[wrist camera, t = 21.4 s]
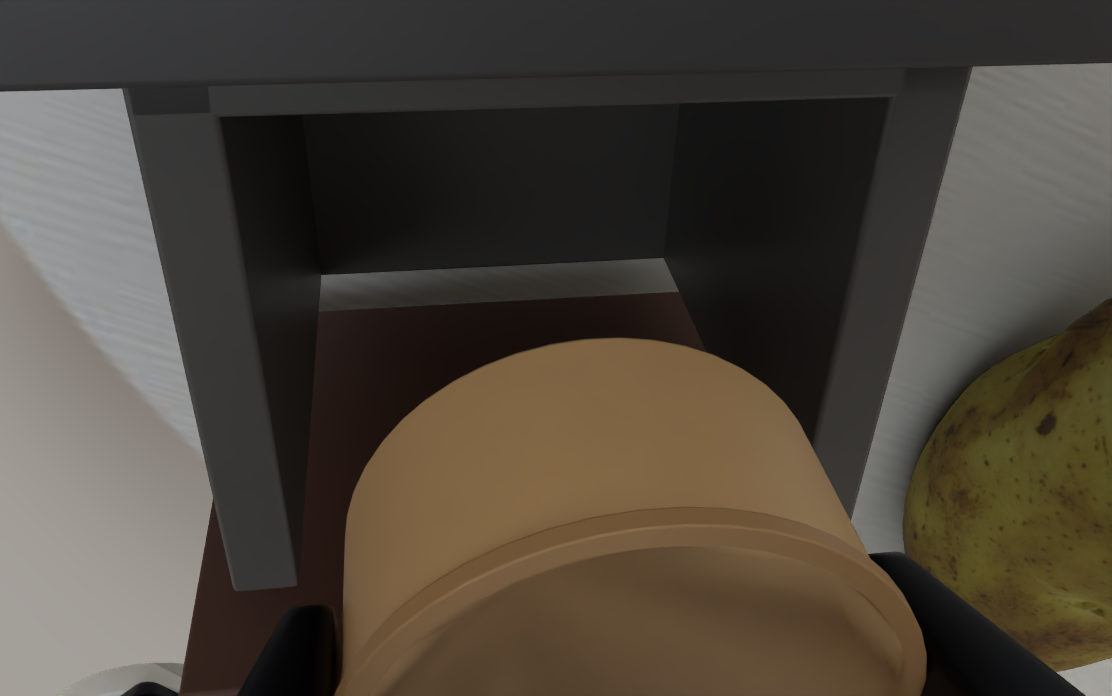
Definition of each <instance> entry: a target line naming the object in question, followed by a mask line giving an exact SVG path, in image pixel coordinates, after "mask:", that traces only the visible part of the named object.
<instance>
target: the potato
mask: <svg viewBox="0 0 1112 696" xmlns="http://www.w3.org/2000/svg"><path fill="white" fill-rule="evenodd" d="M903 540H904V548H905V555H907V556H909V557H910V558H912V559H913V560H914V561H915V562H917V563H918V564H919V565H920V566H922V567H923V568H924V569H925V570H927V571H928V572H929V573H931V574H932V575H933V576H934V577H936V578H937V579H938V580H939V581H941V582H942V583H943V584H945V585H946V586H947V587H948V588H950V589H951V590H952V591H953V592H955V593H956V594H957V595H958V596H960V597H961V598H962V599H964V600H965V601H966V602H967V603H969V604H970V605H971V606H972V607H974V608H975V609H976V610H978V611H979V612H980V613H981V614H983V615H984V616H985V617H986V618H988V619H989V620H990V621H991V622H993V623H994V624H995V625H997V626H998V627H999V628H1000V629H1002V630H1003V631H1004V632H1005V633H1007V634H1008V635H1009V636H1011V637H1012V638H1013V639H1014V640H1016V641H1017V642H1018V643H1019V644H1021V645H1022V646H1023V647H1024V648H1026V649H1027V650H1028V651H1030V652H1031V653H1032V654H1033V655H1035V656H1036V657H1037V658H1038V659H1040V660H1041V661H1042V662H1044V663H1045V664H1046V665H1047V666H1049V667H1050V668H1051V669H1052V670H1054V671H1055V672H1058V671H1064V670H1068V669H1073V668H1077V667H1081V666H1085V665H1088V664H1092V663H1096V662H1099V661H1102V660H1106V659H1109V658H1112V298H1111V299H1108V300H1106V301H1104V302H1103V303H1102V304H1100V305H1099V306H1097V307H1096V308H1094V309H1093V310H1091V311H1089V313H1087V314H1086V315H1084V316H1082V317H1081V318H1079V319H1078V320H1076V321H1075V322H1074V323H1072V324H1071V325H1070V326H1069V327H1068V328H1067V330H1066V331H1065V332H1063V333H1061V334H1058V335H1056V336H1054V337H1051V338H1048V339H1045V340H1043V341H1040V342H1038V343H1036V344H1034V345H1032V346H1029V347H1027V348H1025V349H1023V350H1021V351H1019V352H1017V353H1015V354H1013V355H1011V356H1009V357H1007V358H1006V359H1004V360H1002V361H1000V362H999V363H997V364H996V365H994V366H992V367H991V368H989V369H988V370H986V371H985V372H983V373H982V374H981V375H980V376H979V377H978V378H977V379H976V380H975V381H974V382H973V383H972V384H971V385H970V386H969V387H967V388H966V390H965V391H964V392H963V393H962V394H961V395H960V397H959V398H958V399H957V400H956V401H955V403H954V404H953V405H952V406H951V408H950V409H949V410H948V412H947V413H946V415H945V416H944V417H943V419H942V420H941V422H940V423H939V424H938V426H937V427H936V429H935V431H934V432H933V434H932V436H931V437H930V439H929V441H928V442H927V444H926V446H925V447H924V449H923V451H922V453H921V455H920V457H919V460H918V462H917V465H916V467H915V470H914V472H913V475H912V478H911V481H910V484H909V487H908V491H907V495H906V499H905V507H904V515H903Z"/></svg>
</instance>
